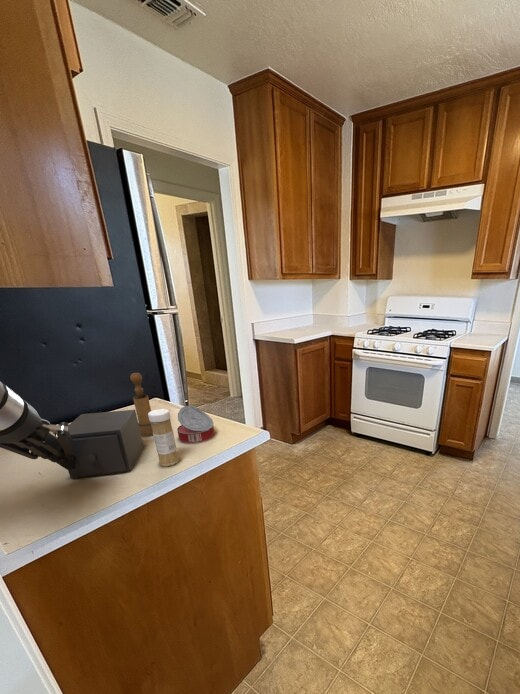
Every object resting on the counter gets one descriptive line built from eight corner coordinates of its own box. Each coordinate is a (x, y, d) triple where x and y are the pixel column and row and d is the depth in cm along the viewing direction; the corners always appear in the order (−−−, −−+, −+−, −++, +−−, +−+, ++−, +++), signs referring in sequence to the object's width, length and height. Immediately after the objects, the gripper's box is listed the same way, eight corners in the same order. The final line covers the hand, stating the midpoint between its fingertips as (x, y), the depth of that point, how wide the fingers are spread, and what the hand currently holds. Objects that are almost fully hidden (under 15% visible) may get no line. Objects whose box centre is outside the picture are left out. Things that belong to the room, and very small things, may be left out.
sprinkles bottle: (172, 457, 90) (162, 407, 84) (183, 461, 87) (173, 410, 82) (155, 464, 86) (143, 412, 81) (166, 469, 84) (154, 416, 79)
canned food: (206, 443, 108) (218, 413, 108) (211, 452, 100) (223, 420, 99) (168, 432, 103) (180, 401, 102) (170, 441, 94) (182, 407, 93)
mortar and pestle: (135, 438, 101) (120, 376, 94) (136, 430, 107) (122, 371, 100) (160, 434, 104) (148, 374, 97) (160, 427, 109) (148, 369, 102)
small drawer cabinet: (130, 471, 83) (119, 429, 79) (70, 478, 80) (56, 436, 76) (143, 446, 96) (135, 409, 92) (92, 451, 93) (81, 414, 89)
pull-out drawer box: (124, 473, 80) (114, 437, 77) (68, 480, 78) (55, 443, 75) (138, 446, 94) (131, 415, 90) (91, 452, 91) (81, 420, 88)
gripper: (-57, 439, 53) (35, 484, 74) (43, 429, 56) (104, 475, 77) (-46, 396, 56) (39, 451, 77) (48, 389, 59) (105, 444, 80)
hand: (72, 463), depth 77 cm, fingers closed
